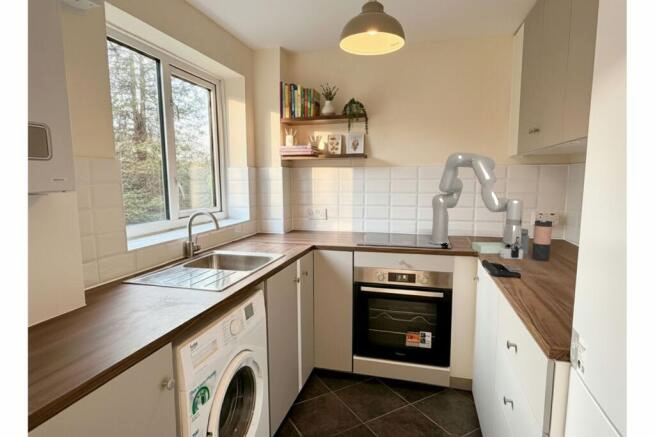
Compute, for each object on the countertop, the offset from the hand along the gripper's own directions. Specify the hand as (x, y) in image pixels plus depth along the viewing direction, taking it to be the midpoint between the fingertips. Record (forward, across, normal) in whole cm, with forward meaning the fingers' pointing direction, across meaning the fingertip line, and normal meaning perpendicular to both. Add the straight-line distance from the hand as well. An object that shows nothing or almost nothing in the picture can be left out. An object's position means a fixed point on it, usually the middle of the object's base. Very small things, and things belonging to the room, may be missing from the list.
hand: (511, 255), depth 177 cm
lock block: (+1, 0, 0) cm, 1 cm away
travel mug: (+1, +4, +13) cm, 14 cm away
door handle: (+1, +28, -18) cm, 34 cm away
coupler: (+1, -15, +2) cm, 15 cm away
